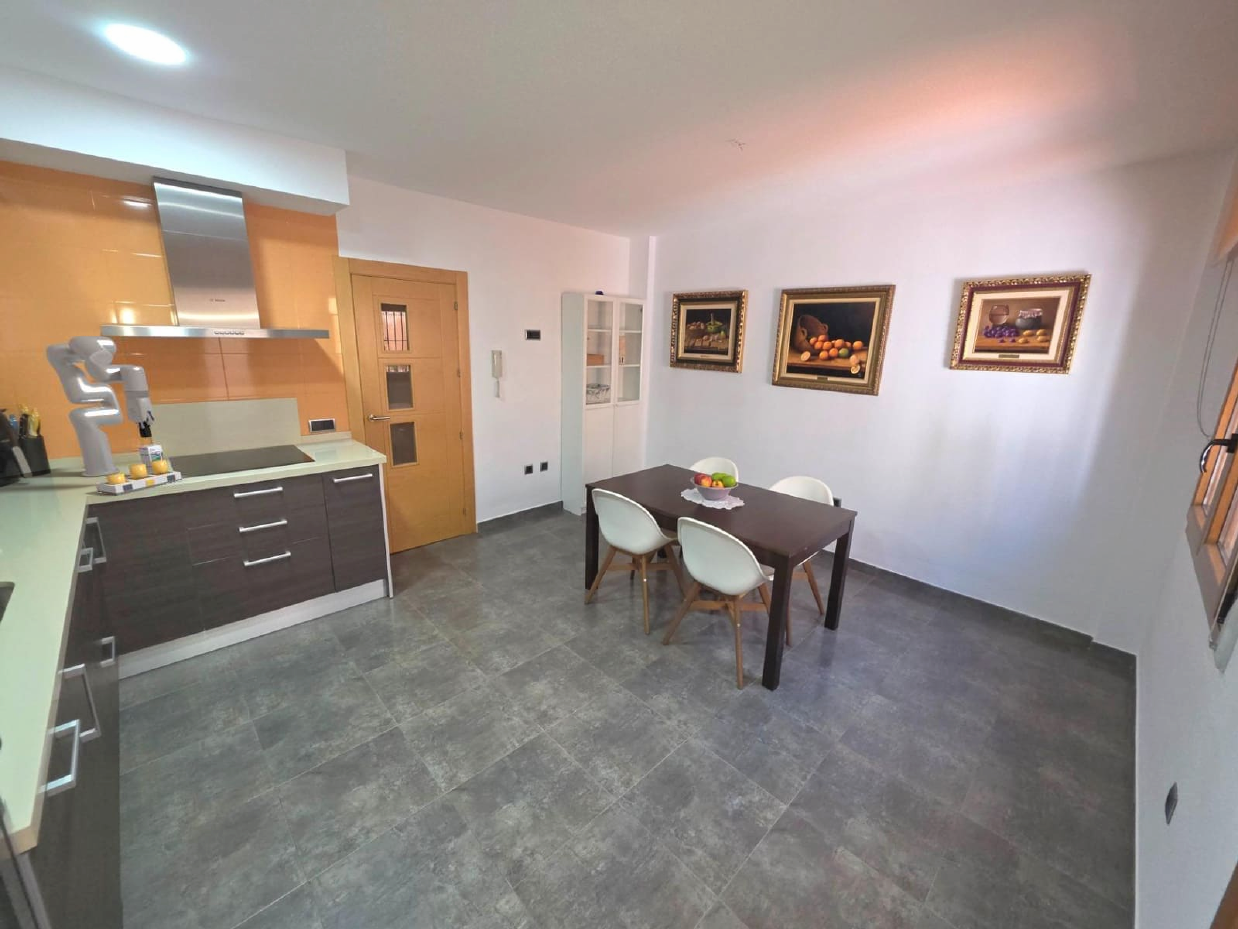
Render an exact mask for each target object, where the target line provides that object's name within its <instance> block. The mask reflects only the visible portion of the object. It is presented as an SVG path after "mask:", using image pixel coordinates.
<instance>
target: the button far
mask: <svg viewBox="0 0 1238 929" xmlns="http://www.w3.org/2000/svg"><path fill="white" fill-rule="evenodd" d="M150 463H151V467H152V472H153V475H157V476H158V475H163V474H168V473H169V472H168V471H169V467H168V463H167V460H166V459H164V460H156V461H152V462H150Z"/></svg>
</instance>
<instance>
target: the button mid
mask: <svg viewBox="0 0 1238 929" xmlns="http://www.w3.org/2000/svg"><path fill="white" fill-rule="evenodd" d="M128 469H129V474H130V476H131V479H132V480H140V479H144V478H148V475H147V470H146V466H145V464H142V463H137V464H136V463H135V464H130V465H128Z"/></svg>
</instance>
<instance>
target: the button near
mask: <svg viewBox="0 0 1238 929" xmlns="http://www.w3.org/2000/svg"><path fill="white" fill-rule="evenodd" d="M106 479H107V481H108V484H109V485H116V484H121V483H125V482H126V480H125V474H124V473H122V472H121V473H120V472H118V473H114V474H110V475H106Z"/></svg>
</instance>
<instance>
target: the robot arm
mask: <svg viewBox="0 0 1238 929" xmlns="http://www.w3.org/2000/svg"><path fill="white" fill-rule="evenodd" d="M117 350H118V348H117V345H116V343H115V341H114V340H113V339H112V338H110V337H107V336H103V335H102V336H101V335H97V336H96V335H78V336H77V335H76V336H74V337H72V338H70V339H69V341H68V342H67V343H55V344H50V345H49V346H47V347H46V349H45V355H46V356H45V357H46V359H47V361H48V363H49V365H50V366H51V368H52V369H53V370H54V372H55V373H56V374H57V376H58V378H59V380H60V381H59V382H60V384H61V386H62V389H63V392H64V394H65V396H66V398H67V401H68V402H69V403H71V404H73V405H87V404H88V405H90V404H91V405H92V404H93V405H94V404H101V405H98V406H97V405H94V406H84V407H82V406H81V407H77V408H74V409H71V411H70V412H68V418H69V421H70V422H71V424H72V427H73V429H74V432H75V434H76V437H77V441H78V444H79V448H80V449H79V450H80V453H81V456H82V461H83V464H84V465H83V468H84V470H85V471H83V472H82V473H81V476H82V477H89V478H91V477H92V478H93V477H101V476H102V477H103V476H107V475H111V474H118V473H120V472H121V469H120V468H118V467H115V463H114V459H113V455H112V451H111V445H110V443H109V442H110V441H109V438H108V436H107V434H106V433H105V432H104V431H103V430H101V429H100V428H101V427H109V426H116V425H120V424H122V423H123V420H124V414H123V411H122V409H121V405H120V402H119V400H118V397H117V394H116V392H115V390H114V387H112V386H111V385H110V384H117V383H118V384H119V383H122V387H123V392H124V396H125V409H126V415H127V419H128V421H130V422H133V423H134V424H136V426H137V428H138V432H139V434H140V438H143V439H144V438H145V439H146V438H152V437H153V435H152V431H151V430H152V429H151V428H152V427H151V425H154V421H155V419H156V417H155V412H154V408H153V405H152V402H151V399H150V398H151V395H150V391H149V387H148V386H149V385H148V382H147V378H146V372H145V369H144V368H143V366H141V365H133V364H111V363H113V360H114V355H116V353H117ZM74 363H75V364H74ZM78 363H79V364H81V363H84V364H83V365H84V370H85V371H86V372H85V371H84V370H83V369H82V368H80V367H79V366H77V365H76V364H78ZM86 373H87V374H86ZM87 375H88V376H90V377H91V378H92V379H93V380H94V381H97V382H90V381H89V379H88V377H87Z"/></svg>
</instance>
